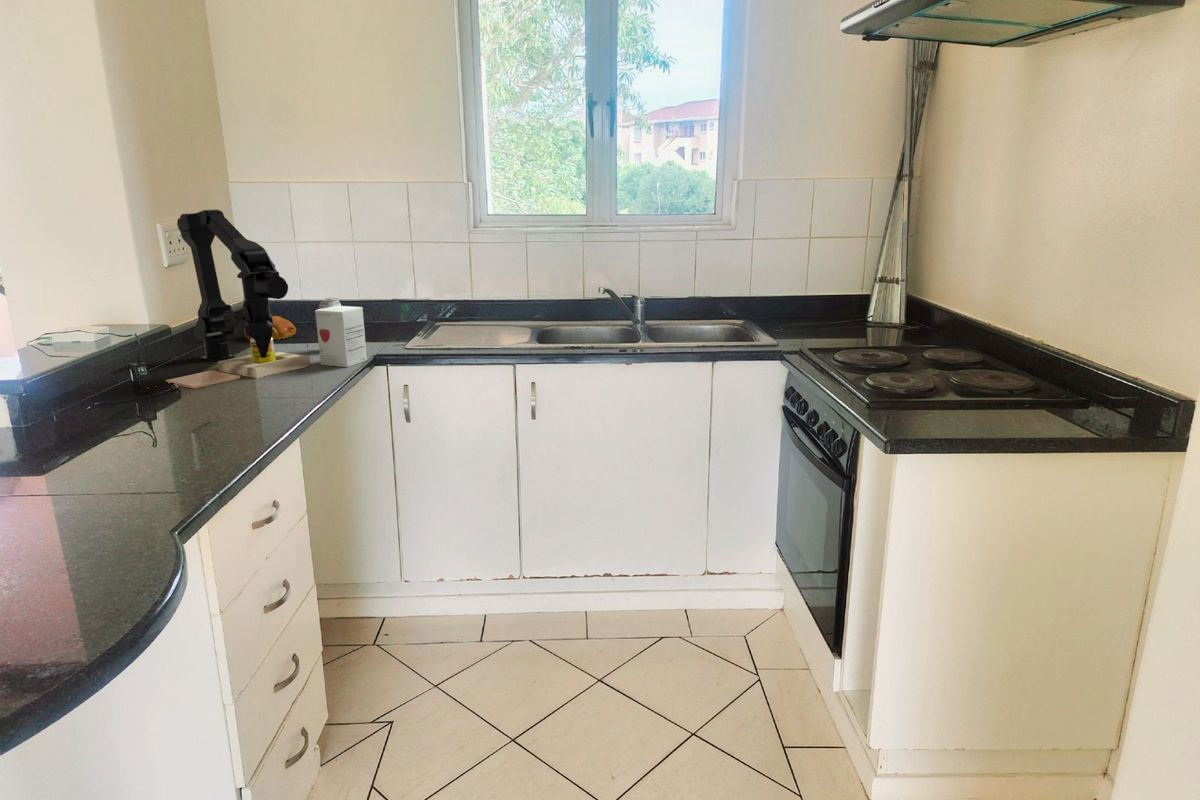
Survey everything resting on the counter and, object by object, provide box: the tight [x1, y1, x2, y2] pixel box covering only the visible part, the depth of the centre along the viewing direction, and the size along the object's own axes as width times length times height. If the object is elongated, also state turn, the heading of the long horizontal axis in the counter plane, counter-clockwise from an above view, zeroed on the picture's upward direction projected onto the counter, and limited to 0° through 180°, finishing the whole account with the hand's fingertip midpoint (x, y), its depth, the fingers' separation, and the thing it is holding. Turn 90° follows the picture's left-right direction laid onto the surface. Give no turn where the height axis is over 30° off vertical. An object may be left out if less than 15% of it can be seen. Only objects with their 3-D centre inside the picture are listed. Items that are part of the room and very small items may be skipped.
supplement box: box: [314, 305, 368, 368], centre depth 206 cm, size 9×9×15 cm
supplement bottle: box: [249, 337, 276, 364], centre depth 201 cm, size 6×6×10 cm
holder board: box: [217, 350, 311, 379], centre depth 202 cm, size 16×16×2 cm
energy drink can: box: [318, 297, 342, 309], centre depth 222 cm, size 6×6×15 cm
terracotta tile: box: [165, 369, 241, 389], centre depth 190 cm, size 12×12×1 cm
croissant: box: [243, 315, 297, 341], centre depth 243 cm, size 14×16×8 cm
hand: (263, 355), depth 201 cm, fingers closed on supplement bottle, 5 cm apart
